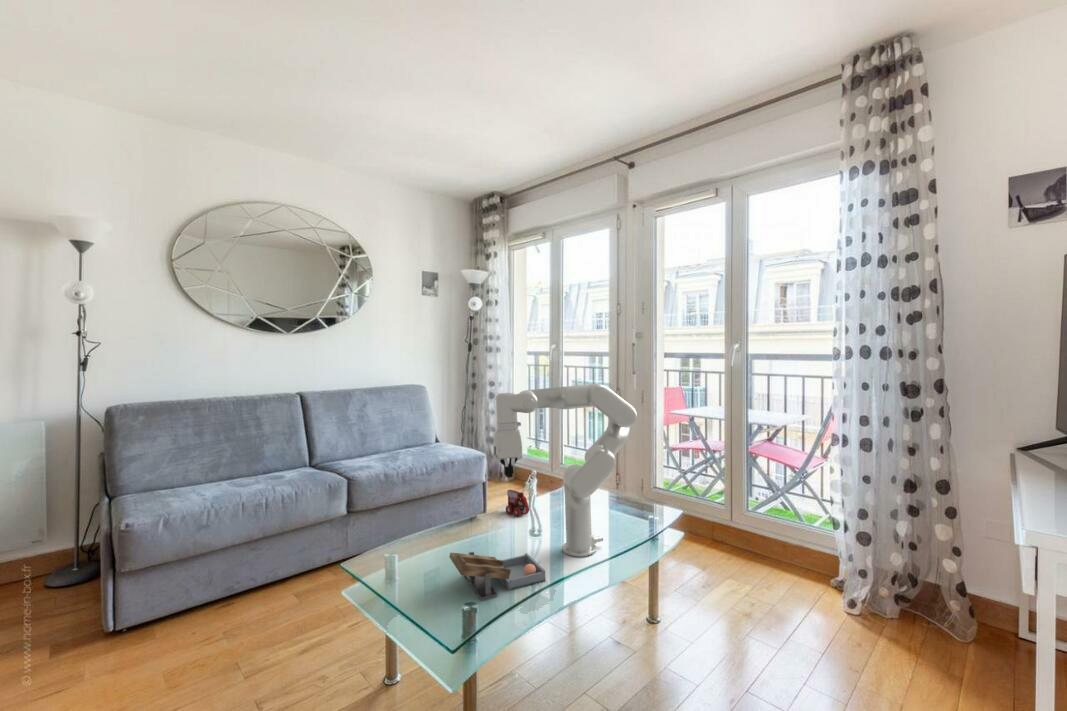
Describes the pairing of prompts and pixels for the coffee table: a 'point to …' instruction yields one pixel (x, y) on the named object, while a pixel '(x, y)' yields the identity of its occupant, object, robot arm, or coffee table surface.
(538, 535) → the coffee table surface
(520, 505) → the red toy vehicle
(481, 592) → the lever stand
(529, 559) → the tray
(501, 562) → the lever
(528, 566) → the ball
